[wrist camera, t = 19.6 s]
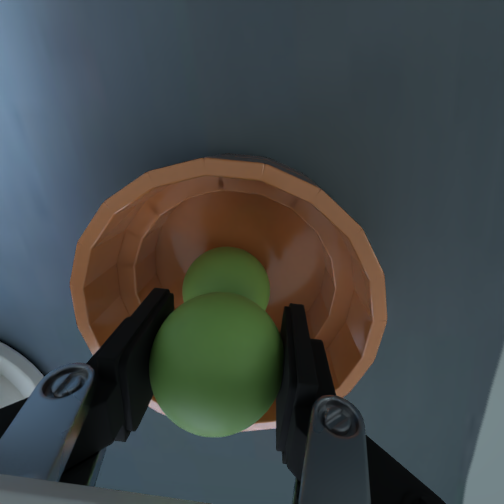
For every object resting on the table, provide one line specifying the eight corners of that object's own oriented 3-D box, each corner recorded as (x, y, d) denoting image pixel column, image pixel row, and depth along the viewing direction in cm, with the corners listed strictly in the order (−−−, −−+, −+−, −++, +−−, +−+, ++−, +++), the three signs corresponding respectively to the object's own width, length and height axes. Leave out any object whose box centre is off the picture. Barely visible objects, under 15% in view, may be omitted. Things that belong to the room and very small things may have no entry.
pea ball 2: (177, 354, 13) (127, 461, 8) (175, 264, 11) (111, 341, 7) (276, 366, 12) (277, 483, 8) (290, 277, 11) (300, 365, 6)
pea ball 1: (202, 293, 18) (168, 343, 14) (202, 228, 16) (162, 263, 12) (271, 307, 17) (256, 364, 13) (280, 240, 15) (265, 283, 11)
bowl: (143, 338, 20) (92, 414, 14) (128, 143, 15) (42, 141, 9) (325, 359, 19) (347, 446, 14) (371, 166, 14) (434, 179, 9)
